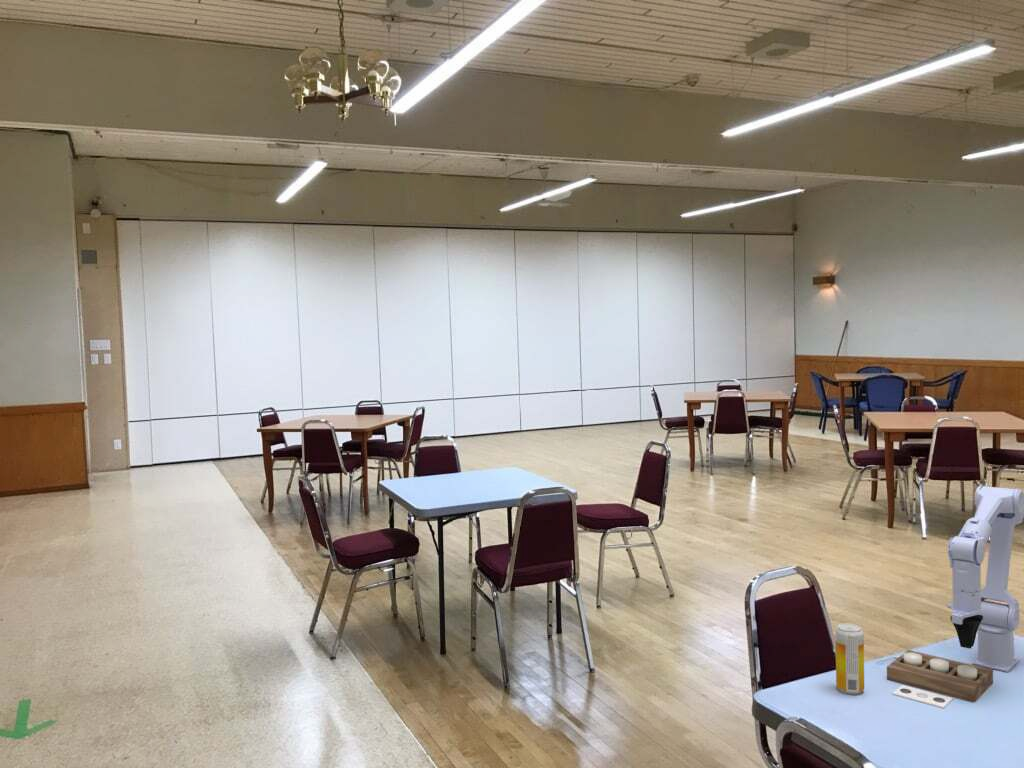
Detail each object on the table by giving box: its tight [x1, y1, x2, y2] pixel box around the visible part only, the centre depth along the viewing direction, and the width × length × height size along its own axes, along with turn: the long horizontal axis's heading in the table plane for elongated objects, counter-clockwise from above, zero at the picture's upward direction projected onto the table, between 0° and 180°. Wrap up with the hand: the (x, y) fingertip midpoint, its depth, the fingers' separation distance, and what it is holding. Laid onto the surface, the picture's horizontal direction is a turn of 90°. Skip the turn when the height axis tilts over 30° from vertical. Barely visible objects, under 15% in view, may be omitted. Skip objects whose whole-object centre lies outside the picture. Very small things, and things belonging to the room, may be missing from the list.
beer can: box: [835, 622, 865, 696], centre depth 188 cm, size 6×6×15 cm
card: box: [891, 684, 954, 709], centre depth 184 cm, size 6×11×1 cm, turn 44°
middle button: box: [930, 659, 949, 674], centre depth 192 cm, size 4×4×2 cm
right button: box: [957, 665, 977, 681], centre depth 188 cm, size 4×4×2 cm
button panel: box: [886, 649, 994, 703], centre depth 192 cm, size 14×19×3 cm
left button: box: [903, 652, 922, 667], centre depth 196 cm, size 4×4×2 cm
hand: (966, 646), depth 187 cm, fingers closed
